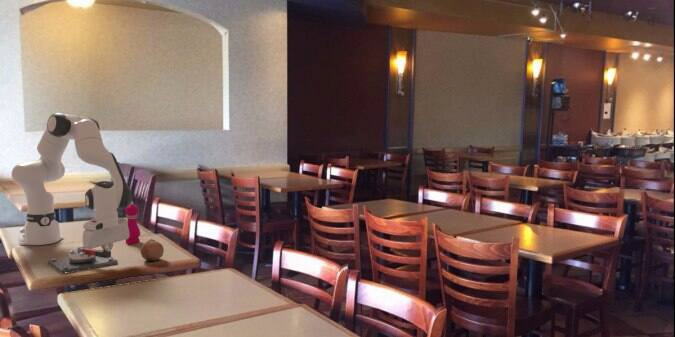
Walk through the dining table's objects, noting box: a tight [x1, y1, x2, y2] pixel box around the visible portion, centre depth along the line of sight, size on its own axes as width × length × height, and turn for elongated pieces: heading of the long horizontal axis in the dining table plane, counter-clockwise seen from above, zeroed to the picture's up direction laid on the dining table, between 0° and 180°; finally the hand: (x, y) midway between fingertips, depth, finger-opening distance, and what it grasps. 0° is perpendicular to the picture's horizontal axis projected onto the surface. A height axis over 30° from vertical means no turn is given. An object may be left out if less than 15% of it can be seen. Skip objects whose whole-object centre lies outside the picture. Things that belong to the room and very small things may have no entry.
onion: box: [140, 238, 165, 262], centre depth 240 cm, size 10×9×10 cm
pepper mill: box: [124, 201, 141, 245], centre depth 268 cm, size 7×7×20 cm
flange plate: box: [47, 256, 119, 274], centre depth 234 cm, size 18×22×2 cm
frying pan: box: [67, 246, 112, 263], centre depth 231 cm, size 20×10×5 cm, turn 65°
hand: (107, 254), depth 230 cm, fingers closed
